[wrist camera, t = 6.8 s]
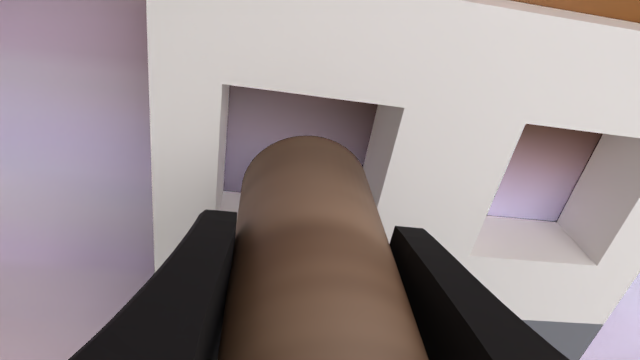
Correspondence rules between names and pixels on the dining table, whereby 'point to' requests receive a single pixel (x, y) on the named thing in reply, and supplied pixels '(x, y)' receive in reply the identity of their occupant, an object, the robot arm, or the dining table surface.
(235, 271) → the walnut pin
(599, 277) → the white grey peg board
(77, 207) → the dining table surface
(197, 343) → the robot arm
